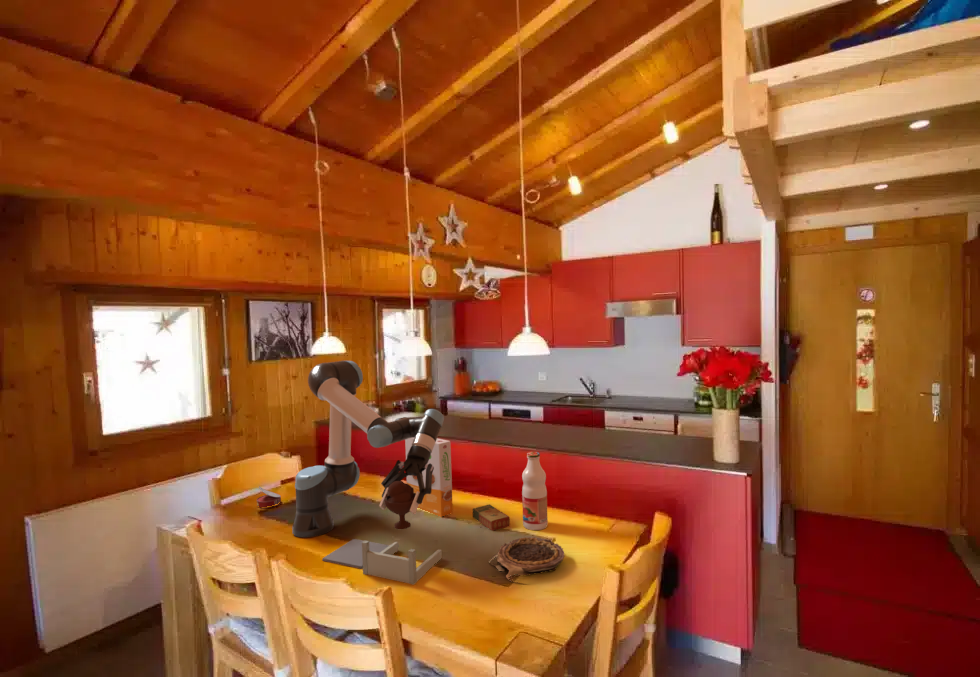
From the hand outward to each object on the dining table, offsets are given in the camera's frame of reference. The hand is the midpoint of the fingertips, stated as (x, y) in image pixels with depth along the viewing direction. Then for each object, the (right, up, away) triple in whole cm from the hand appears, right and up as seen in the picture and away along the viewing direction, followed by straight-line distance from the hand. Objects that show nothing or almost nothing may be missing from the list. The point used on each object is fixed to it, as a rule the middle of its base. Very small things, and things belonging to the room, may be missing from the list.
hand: (396, 510), depth 157 cm
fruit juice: (+47, -17, +31) cm, 59 cm away
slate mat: (-16, -19, +12) cm, 28 cm away
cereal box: (+4, -18, +52) cm, 55 cm away
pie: (+44, -18, +2) cm, 47 cm away
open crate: (+2, -19, +3) cm, 19 cm away
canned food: (-70, -20, +64) cm, 96 cm away
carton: (+30, -18, +37) cm, 51 cm away
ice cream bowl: (+1, -6, +3) cm, 7 cm away
